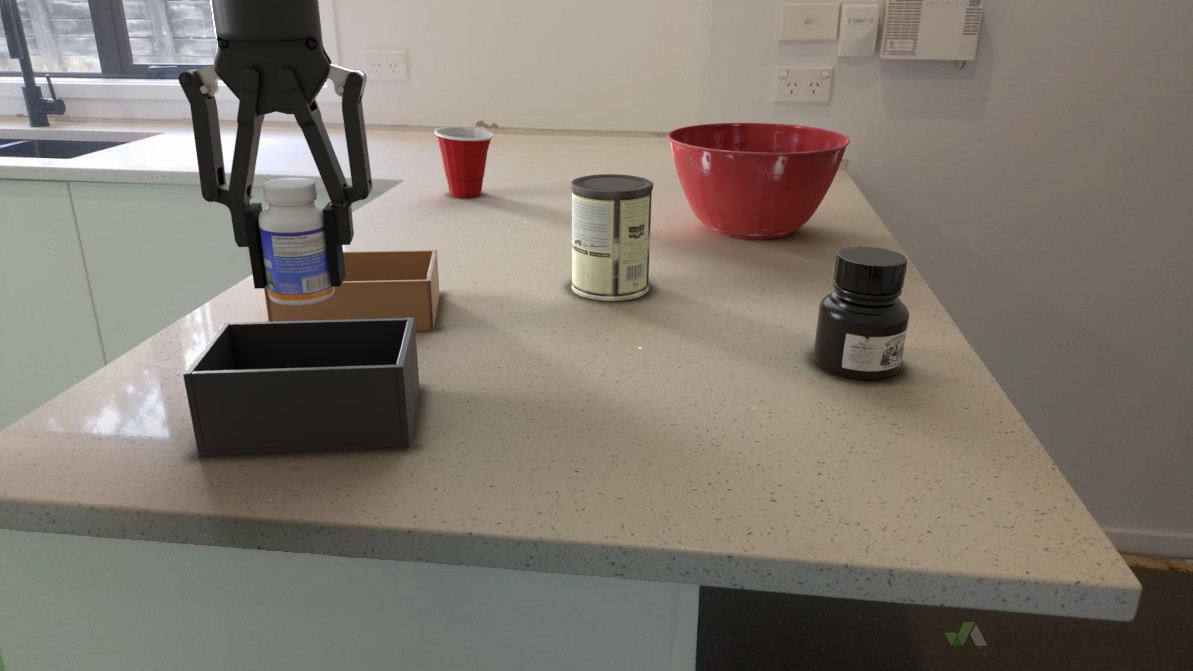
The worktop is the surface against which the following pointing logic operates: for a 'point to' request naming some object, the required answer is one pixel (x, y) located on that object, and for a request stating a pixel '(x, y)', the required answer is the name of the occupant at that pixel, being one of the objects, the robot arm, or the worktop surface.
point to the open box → (305, 387)
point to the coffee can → (611, 236)
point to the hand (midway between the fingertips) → (301, 281)
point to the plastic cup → (464, 158)
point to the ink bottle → (863, 315)
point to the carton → (376, 290)
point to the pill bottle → (294, 243)
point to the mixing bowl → (755, 175)
